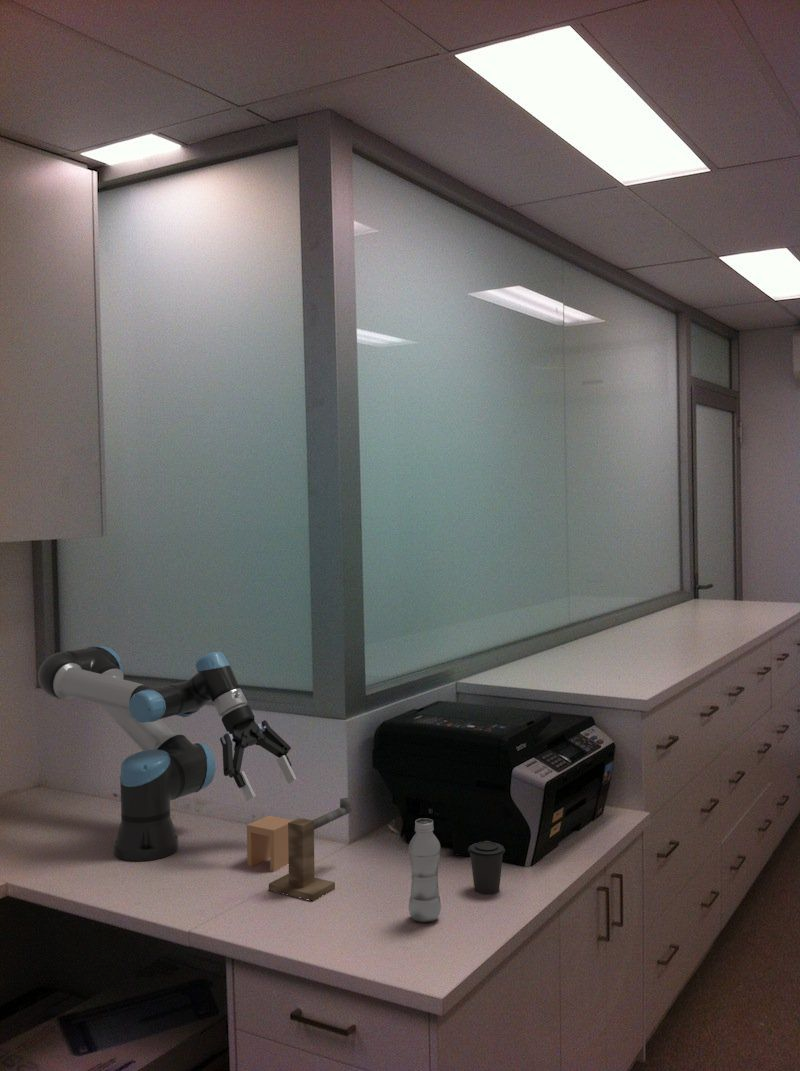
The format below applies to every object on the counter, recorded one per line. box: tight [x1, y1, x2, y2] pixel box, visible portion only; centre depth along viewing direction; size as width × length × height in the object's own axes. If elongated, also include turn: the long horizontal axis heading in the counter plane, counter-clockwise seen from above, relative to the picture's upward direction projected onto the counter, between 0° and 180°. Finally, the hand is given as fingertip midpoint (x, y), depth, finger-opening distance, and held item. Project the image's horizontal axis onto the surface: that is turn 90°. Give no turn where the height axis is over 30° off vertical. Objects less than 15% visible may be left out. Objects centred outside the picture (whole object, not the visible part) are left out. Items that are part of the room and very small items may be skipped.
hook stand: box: [268, 797, 352, 902], centre depth 223 cm, size 12×22×16 cm, turn 149°
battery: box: [452, 833, 471, 857], centre depth 240 cm, size 4×7×10 cm, turn 155°
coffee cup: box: [468, 840, 506, 896], centre depth 216 cm, size 8×8×10 cm
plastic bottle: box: [408, 817, 442, 923], centre depth 201 cm, size 6×7×20 cm
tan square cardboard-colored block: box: [246, 815, 294, 872], centre depth 233 cm, size 8×8×10 cm
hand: (272, 790), depth 238 cm, fingers open, 13 cm apart
